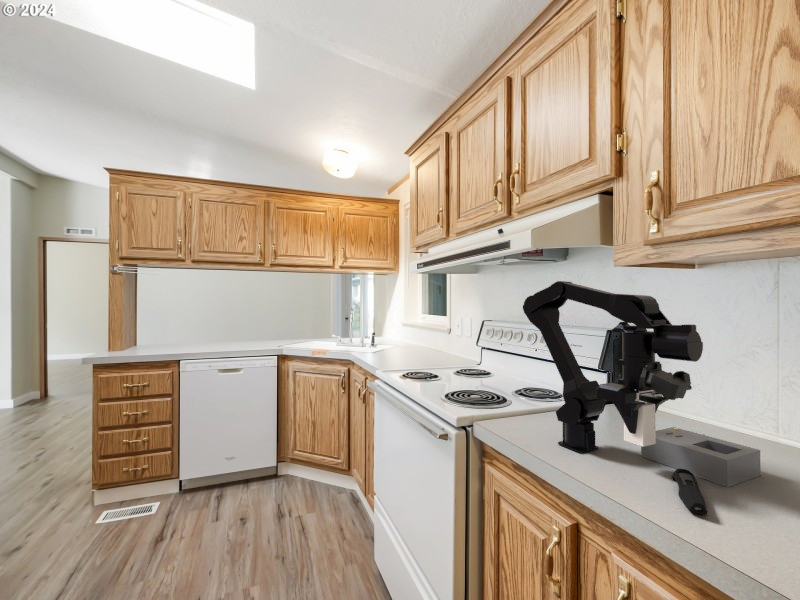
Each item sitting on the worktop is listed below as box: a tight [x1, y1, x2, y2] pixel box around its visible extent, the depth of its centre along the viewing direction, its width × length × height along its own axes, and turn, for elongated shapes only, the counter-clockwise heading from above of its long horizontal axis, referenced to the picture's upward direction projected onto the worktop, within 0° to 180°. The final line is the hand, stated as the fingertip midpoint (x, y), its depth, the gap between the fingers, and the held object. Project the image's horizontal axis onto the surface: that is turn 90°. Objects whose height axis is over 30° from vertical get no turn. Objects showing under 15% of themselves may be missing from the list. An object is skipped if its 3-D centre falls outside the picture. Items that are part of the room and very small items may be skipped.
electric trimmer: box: [671, 469, 709, 516], centre depth 67 cm, size 4×16×3 cm, turn 150°
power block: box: [640, 426, 762, 488], centre depth 80 cm, size 16×12×5 cm
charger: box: [623, 401, 657, 447], centre depth 78 cm, size 4×4×8 cm
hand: (639, 431), depth 78 cm, fingers closed on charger, 4 cm apart
